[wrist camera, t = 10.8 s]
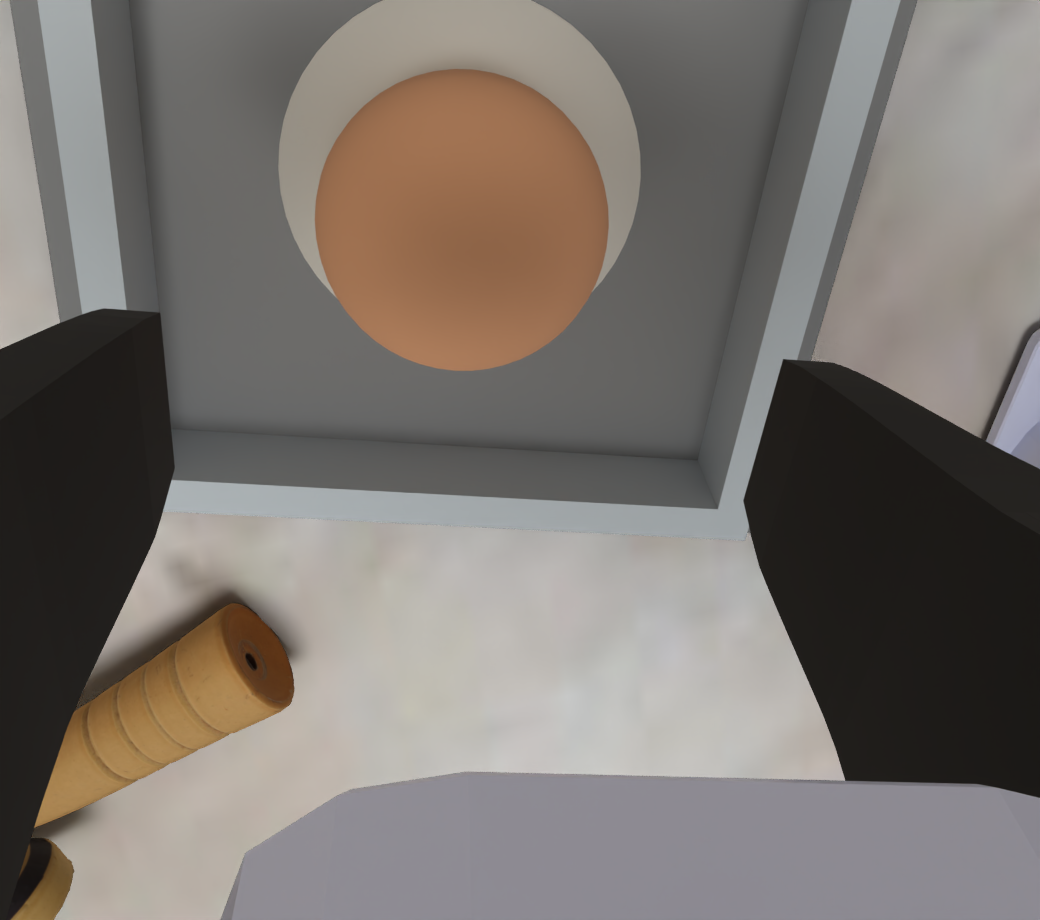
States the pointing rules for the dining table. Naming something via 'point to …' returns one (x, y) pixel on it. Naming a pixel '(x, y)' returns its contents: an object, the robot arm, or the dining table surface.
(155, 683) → the kendama
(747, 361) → the corral
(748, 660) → the dining table surface
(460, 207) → the rubber ball
